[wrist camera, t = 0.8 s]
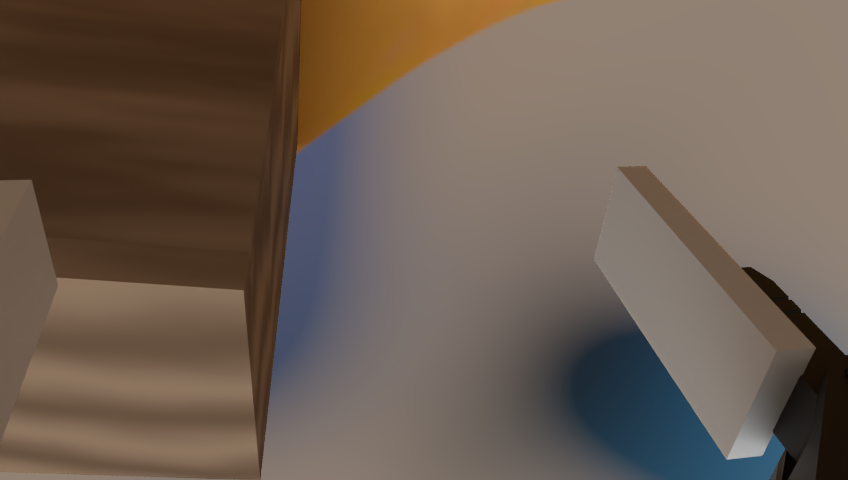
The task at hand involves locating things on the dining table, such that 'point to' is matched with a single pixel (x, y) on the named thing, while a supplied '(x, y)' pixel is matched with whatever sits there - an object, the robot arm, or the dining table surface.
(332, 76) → the dining table surface
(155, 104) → the wooden box
